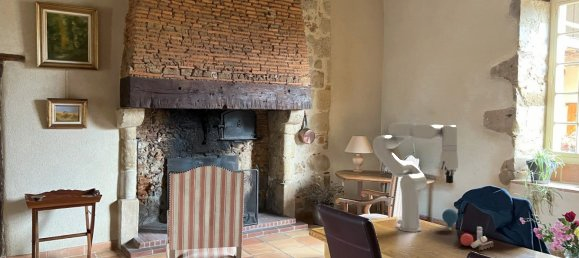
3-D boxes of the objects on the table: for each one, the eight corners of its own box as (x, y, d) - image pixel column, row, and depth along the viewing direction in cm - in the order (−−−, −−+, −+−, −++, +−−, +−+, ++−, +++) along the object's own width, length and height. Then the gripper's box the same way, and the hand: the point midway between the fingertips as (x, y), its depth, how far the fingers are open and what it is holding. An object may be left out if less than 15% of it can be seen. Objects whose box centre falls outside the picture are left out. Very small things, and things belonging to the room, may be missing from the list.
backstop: (478, 250, 214) (478, 245, 214) (491, 246, 221) (491, 241, 221) (481, 250, 213) (481, 245, 213) (493, 246, 220) (493, 241, 220)
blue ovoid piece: (459, 232, 249) (459, 210, 249) (443, 231, 250) (443, 210, 250) (456, 228, 257) (456, 207, 257) (441, 228, 259) (441, 207, 258)
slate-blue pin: (476, 244, 225) (476, 227, 225) (478, 243, 226) (478, 226, 226) (480, 245, 223) (480, 228, 223) (483, 244, 224) (483, 227, 224)
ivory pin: (471, 247, 217) (483, 240, 211) (470, 243, 219) (482, 235, 213) (475, 248, 218) (487, 241, 212) (474, 243, 219) (486, 236, 213)
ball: (469, 237, 217) (468, 249, 218) (476, 234, 220) (475, 245, 222) (458, 233, 222) (457, 244, 223) (465, 230, 225) (465, 241, 226)
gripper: (451, 147, 245) (451, 181, 245) (434, 148, 236) (434, 183, 236) (463, 148, 239) (463, 182, 239) (447, 149, 230) (447, 185, 230)
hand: (449, 182), depth 238 cm, fingers closed
